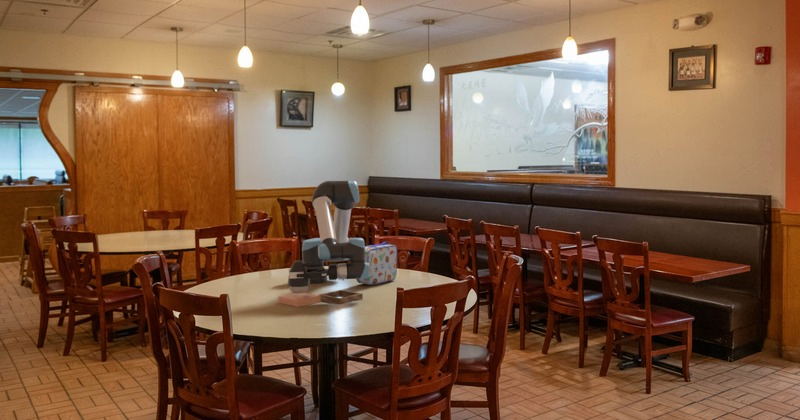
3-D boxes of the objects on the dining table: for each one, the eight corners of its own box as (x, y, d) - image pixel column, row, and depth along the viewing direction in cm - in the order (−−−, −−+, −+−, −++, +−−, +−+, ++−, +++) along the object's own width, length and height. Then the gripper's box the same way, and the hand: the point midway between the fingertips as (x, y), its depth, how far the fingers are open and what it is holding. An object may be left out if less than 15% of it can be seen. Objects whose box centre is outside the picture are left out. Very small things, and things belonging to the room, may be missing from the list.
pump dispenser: (310, 293, 314) (310, 261, 313) (288, 295, 313) (287, 262, 311) (309, 289, 324) (309, 258, 323) (288, 290, 323) (287, 259, 321)
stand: (301, 297, 329) (301, 291, 329) (320, 301, 319) (320, 295, 319) (278, 302, 319) (278, 296, 318) (297, 306, 309) (297, 300, 309)
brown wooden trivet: (341, 294, 335) (341, 289, 335) (362, 298, 325) (362, 293, 325) (318, 299, 324) (318, 294, 324) (339, 304, 314) (339, 298, 314)
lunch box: (385, 278, 380) (385, 239, 379) (400, 279, 374) (400, 240, 372) (353, 285, 359) (353, 244, 357) (368, 287, 352) (368, 246, 351)
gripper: (339, 283, 311) (289, 286, 307) (335, 275, 332) (288, 277, 328) (339, 267, 310) (289, 269, 306) (334, 260, 332) (288, 262, 327)
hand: (289, 273), depth 317 cm, fingers closed on pump dispenser, 9 cm apart
